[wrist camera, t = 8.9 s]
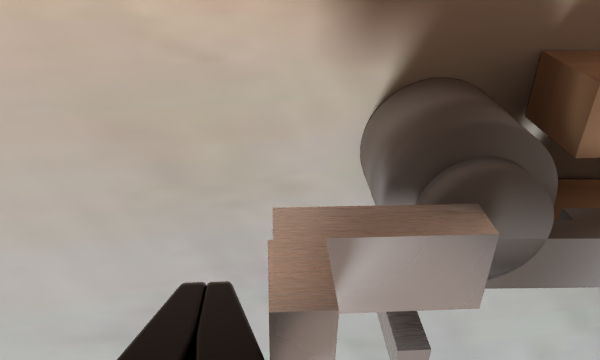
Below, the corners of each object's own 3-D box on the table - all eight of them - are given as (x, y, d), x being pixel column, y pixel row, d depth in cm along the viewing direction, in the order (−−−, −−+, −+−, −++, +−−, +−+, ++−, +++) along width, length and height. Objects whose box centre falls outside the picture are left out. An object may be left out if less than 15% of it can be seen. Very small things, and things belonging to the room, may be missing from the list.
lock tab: (441, 150, 12) (547, 302, 7) (413, 304, 14) (480, 486, 10) (266, 153, 11) (269, 312, 7) (269, 309, 14) (272, 498, 9)
